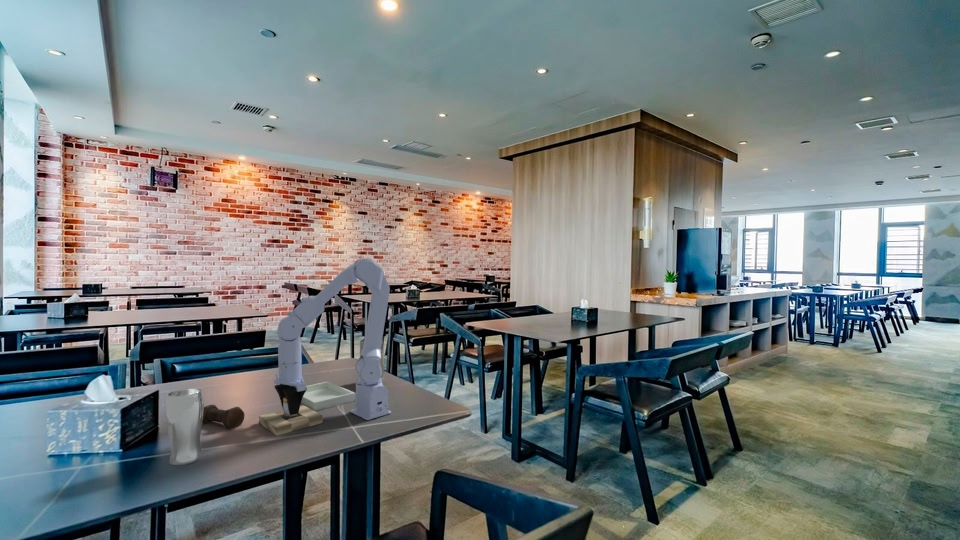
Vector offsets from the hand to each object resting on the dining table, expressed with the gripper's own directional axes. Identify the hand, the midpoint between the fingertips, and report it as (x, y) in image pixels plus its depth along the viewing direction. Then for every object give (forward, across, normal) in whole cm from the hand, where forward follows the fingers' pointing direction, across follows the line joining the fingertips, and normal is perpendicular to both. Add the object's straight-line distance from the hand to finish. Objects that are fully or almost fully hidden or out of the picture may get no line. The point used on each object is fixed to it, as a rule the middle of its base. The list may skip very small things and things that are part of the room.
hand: (290, 412), depth 118 cm
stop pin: (+3, 0, 0) cm, 3 cm away
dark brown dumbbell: (+3, -14, -14) cm, 20 cm away
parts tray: (+3, -13, +15) cm, 20 cm away
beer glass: (+3, +5, -25) cm, 26 cm away
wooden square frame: (+3, 0, 0) cm, 3 cm away
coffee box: (+3, -16, +35) cm, 39 cm away
